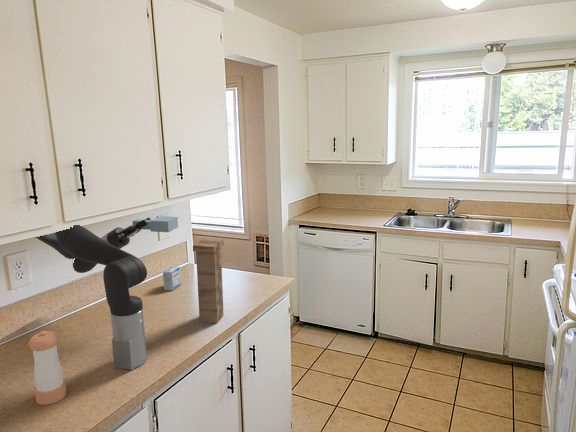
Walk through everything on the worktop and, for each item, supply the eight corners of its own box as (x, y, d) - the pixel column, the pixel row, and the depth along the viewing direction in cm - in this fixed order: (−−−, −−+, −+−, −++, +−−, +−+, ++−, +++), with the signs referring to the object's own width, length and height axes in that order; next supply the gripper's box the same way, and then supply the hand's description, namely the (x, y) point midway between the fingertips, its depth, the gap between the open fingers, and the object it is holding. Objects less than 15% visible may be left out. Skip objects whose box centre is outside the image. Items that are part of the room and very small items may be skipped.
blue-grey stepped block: (168, 232, 153) (167, 221, 152) (129, 230, 156) (128, 219, 155) (178, 227, 160) (177, 216, 160) (140, 225, 163) (139, 215, 162)
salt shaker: (29, 401, 113) (19, 335, 109) (53, 386, 120) (44, 323, 116) (49, 407, 111) (40, 340, 107) (72, 391, 117) (64, 327, 113)
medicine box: (173, 291, 188) (171, 272, 187) (163, 290, 189) (162, 271, 187) (181, 284, 196) (179, 266, 194) (172, 284, 197) (170, 266, 195)
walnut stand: (217, 325, 156) (214, 247, 150) (196, 323, 157) (192, 245, 151) (226, 313, 165) (223, 239, 159) (206, 312, 167) (203, 238, 161)
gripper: (97, 237, 155) (132, 215, 151) (119, 228, 169) (152, 208, 164) (108, 254, 156) (143, 234, 151) (128, 244, 169) (162, 225, 165)
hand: (148, 220), depth 158 cm, fingers closed on blue-grey stepped block, 3 cm apart
